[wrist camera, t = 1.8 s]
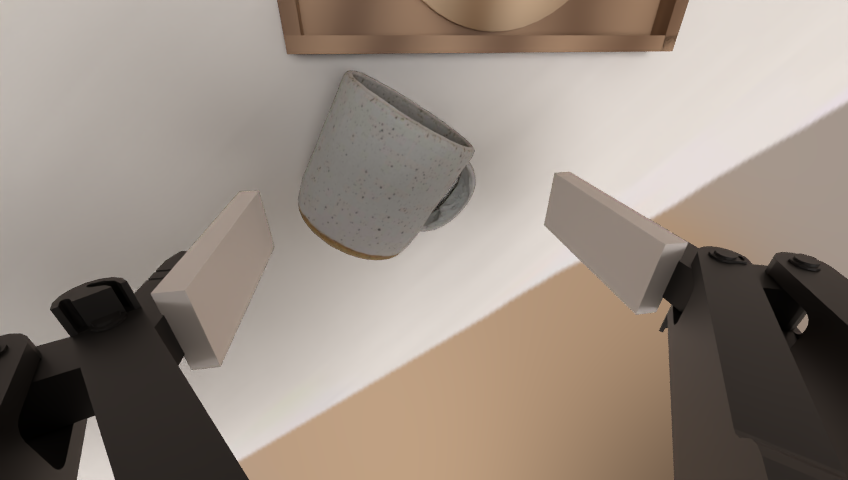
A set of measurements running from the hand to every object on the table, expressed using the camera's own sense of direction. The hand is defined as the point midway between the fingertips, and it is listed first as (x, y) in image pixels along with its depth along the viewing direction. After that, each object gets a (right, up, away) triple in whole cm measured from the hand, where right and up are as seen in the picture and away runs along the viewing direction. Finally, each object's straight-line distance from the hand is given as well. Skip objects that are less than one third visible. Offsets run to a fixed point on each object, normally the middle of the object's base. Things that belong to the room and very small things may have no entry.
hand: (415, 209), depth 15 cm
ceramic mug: (-1, +4, +7) cm, 9 cm away
